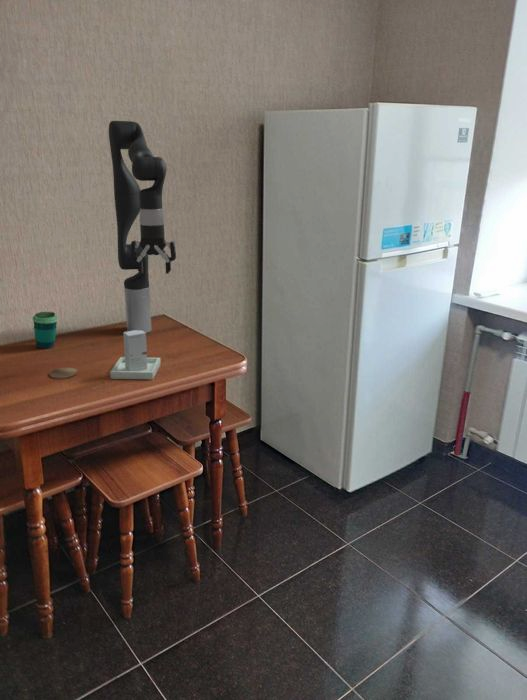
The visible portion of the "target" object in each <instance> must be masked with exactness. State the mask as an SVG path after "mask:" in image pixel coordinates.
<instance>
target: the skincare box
mask: <svg viewBox="0 0 527 700" xmlns="http://www.w3.org/2000/svg"><path fill="white" fill-rule="evenodd" d="M123 348H124V349H123V350H124V357H125V368H126V369H127V370H128V371H139V370H144V369H147V358H148V355H147V350H148V349H147V333H145V332H144V331H142V330H134V331H124V332H123Z"/></svg>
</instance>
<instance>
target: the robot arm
mask: <svg viewBox="0 0 527 700" xmlns="http://www.w3.org/2000/svg"><path fill="white" fill-rule="evenodd" d="M108 138H109V139H108V140H109V147H110V156H111V164H112V172H113V173H112V174H113V175H112V176H113V177H112V178H113V192H114V205H115V208H114V209H115V217H116V227H117V229H116V231H117V260H118V261H117V262H118V266H119V267H120V269H121V270H137V271H138V272H136V273H135V274H134V275H131V276H129V277H126V278H125V279H124V281H123V288H124V290H123V291H124V300H125V316H126V318H125V319H126V332H128V331H134V330H142V331H144V332H145V333H146V334H147V333H150V332H152V313H151V312H152V311H151V295H150V294H151V293H150V280H149V279H150V277H149V256H153V255H154V256H161V258H163V260H164V261H165V274H168V275H169V273H170V272H171V271H172V267H171V266H172V264H171V263H172V262H173V261H174V262H175V260H176V259H177V253H176V243H175V241H174V240H172V241H166V239H165V220H164V218H165V217H164V216H165V215H164V210H163V189H164V184H165V179H166V176H167V169H168V168H167V163H166V162H165V160H164V159H163V158H162V157H160V156H154V155H153V153H152V151H151V150H150V148H149V147H148V145H147V142H146V138H145V135H144V131H143V129H142V127H141V125H140V124H139V122H136V121H131V120H130V121H129V120H128V121H127V120H111V121H110V122H109V124H108ZM122 150H128V151H127V155H128V158H129V160H130V163H131V171H130V169H129V168H128V167H127V165H126V163H125V161H124V158H123V155H122ZM137 181H141V182H148V181H149V182H150V181H151V182H153V184H152V186H150V187H147V188H143V189H141V188H140V185H139V183H138V182H137ZM138 215H139V228H140V229H139V230H140V231H139V232H140V241H139V240H138V241H136V240H135V239H134V240H133V241H131V242H130V243H129V244H128V243H127V239H128V235H129V233H130V230H131V228H132V226H133V224H134V222H135V221H136V219H137V217H138ZM166 246H167V247H168V249H170V250H169V251H170V255H168V253H167V251H166V250H165V248H166Z"/></svg>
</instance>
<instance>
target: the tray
mask: <svg viewBox="0 0 527 700" xmlns="http://www.w3.org/2000/svg"><path fill="white" fill-rule="evenodd" d="M161 363H162V362H161V357H147V369H144V370H139V371H128V370H127V369H126V368H125V356H120V357H119V358H118V360H117V362H116V363H115V364H114V365H113V367H112V369H111V370H110V372H109V373H110V374H109V375H110V379H116V380H117V379H118V380H120V379H121V380H154V378H155V376H156V374H157V372H158V370H159V368H160V366H161Z"/></svg>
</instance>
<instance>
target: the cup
mask: <svg viewBox="0 0 527 700" xmlns="http://www.w3.org/2000/svg"><path fill="white" fill-rule="evenodd" d="M58 320H59V319H58V317H57V315H56V313H55V312H53V311H40V312H37V313H35V314H34V316H33V317H32V321H33V332H34V339H35V346H36V347H37V349H39V350H47V349H52V348H53V347H54V346H55V340H56V334H57V324H58Z"/></svg>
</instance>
